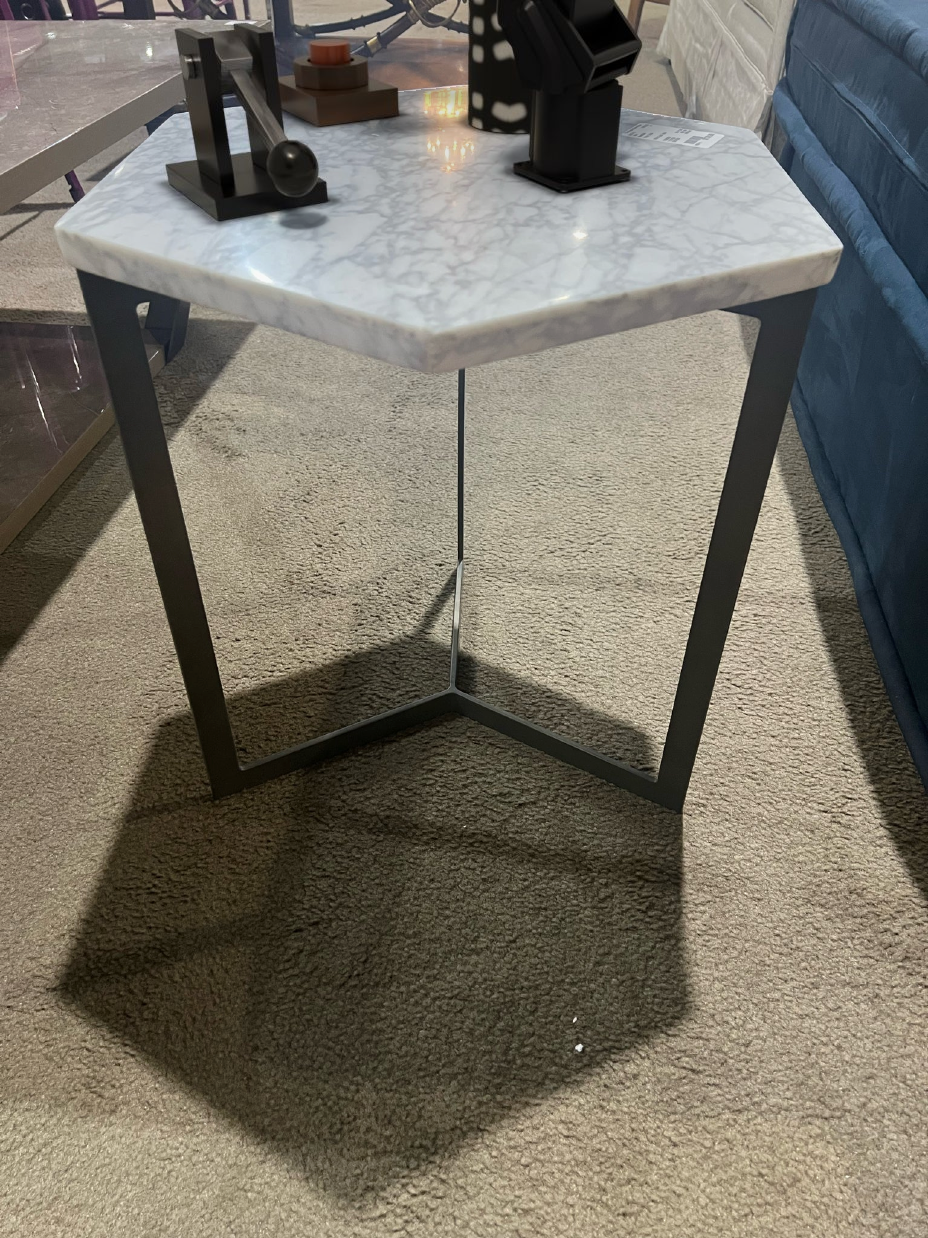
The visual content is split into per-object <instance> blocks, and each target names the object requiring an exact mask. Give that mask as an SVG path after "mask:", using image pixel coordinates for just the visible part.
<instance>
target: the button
mask: <svg viewBox="0 0 928 1238" xmlns="http://www.w3.org/2000/svg"><path fill="white" fill-rule="evenodd" d="M308 52H309V53H308V54H309V55H310V63H315V64H342V63H349V62H351V55H350V54H351V42H350V41H349V40H346V39H341V38H322V39H321V38H319V39H314V40H311V41H309V42H308Z"/></svg>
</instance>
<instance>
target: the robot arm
mask: <svg viewBox="0 0 928 1238" xmlns="http://www.w3.org/2000/svg"><path fill="white" fill-rule="evenodd" d="M496 13H497V21H498V25H499V26H500V27H501V28H502V31H503V33H504V36H505V38H506V40H507V42H508V43H509V44H510V46H511V47H512V51H513V55H514V59H515V63H516V67H517V71H518V75H519V79H520V84H521V87H522V88H524V89H532V90H533V98H532V100H531V116H530V133H529V139H528V143H529V144H528V158H529V160H528V159H527V160H523V161H517V162H514V163H513V164H512V171H513V172H516V173H518V174H521V175H523V176H525V177H528V178H530V179H532V180H535V181H537V182H539V183H542V184H544V185H545V186H549V187H551V188H553V189H556V190H559V191H570V190H576V189H581V188H585V187H586V188H587V187H591V186H597V185H603V184H607V183H610V182H616V181H622V180H626V179H627V180H628V179H630V178H631V177H632V170H631V169H629V168H627V167H624V166H620V165H617V154H618V146H619V145H618V144H619V135H620V127H621V126H620V124H621V117H622V116H621V115H622V106H623V105H622V104H623V94H624V85H622V84H620V82H619V80H618V78H620V77H623V76H628V75H630V74H631V73H632V72H633V71H634V70H633V69H634V68H635V65H636V63H637V61H638V58H639V55H640V53H641V50H642V48H643V41H642V39H641V37H640V36H639V35H638V34H637V32H636V31H635V29H634V28H633V26H632V25H631V23H630V22H629V20H628V18H627V17H626V15H625V13H624V12H623V11H622V10H621V8H620V6H619V4H618V3H617V1H616V0H497V9H496Z"/></svg>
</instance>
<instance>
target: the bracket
mask: <svg viewBox="0 0 928 1238" xmlns="http://www.w3.org/2000/svg"><path fill="white" fill-rule="evenodd" d="M233 30H236V31H237V33H238V34H239V36H240V37H241V39H242V41H243V42H244V44H245V45H246V47H247V49H248V50H249V52H250V53H251V55H252V57H253V70H252V81H253V83H254V85H255V86H256V88H257V90H258V91H259V93H260V94H261V96H262V98H263V99H264V101H265V102H266V104H267V106H268V107H269V109H270V111H271V112H272V114H273V115H274V117H275V119H276V120H277V122H278V124H279V125H280V127H281V128H282V130H283V132H284V133H285V126H284V125H285V124H284V116H283V109H282V107H281V98H280V89H279V80H278V77H279V73H278V63H277V55H276V45H275V37H274V32H273V31H271V30H269V29H266V28H262V27H260V26H258V25H254V24H252V23H249V22H238V23H233ZM174 34H175V35H174V36H175V40H176V41H175V42H176V46H177V53H178V58H179V67H180V70H181V75H182V80H183V86H184V87H183V88H184V92H185V98H186V99H185V100H186V104H187V110H188V115H189V122H190V127H191V133H192V138H193V139H192V140H193V144H194V151H195V156H196V159H192V160H185V161H178V162H172V163H166V164H165V170H166V171H165V172H166V175H167V181H168V184H169V185H171V187H173V188H175V189H176V190H177V191H179V192H180V193H181V194H182V195H184V196H185V197H186V198H188V199H189V200H190V201H192V202H193V203H194V204H195V205H197V206H198V207H200V208H201V209H203V210H204V211H205V212H206V213H208V214H209V215H210V216H211V217H213V218H214V219H215V220H217V221H218V222H219V221H226V220H230V219H236V218H241V217H247V216H253V215H259V214H264V213H265V214H266V213H269V212H275V211H281V210H287V209H292V208H293V209H294V208H298V207H304V206H308V205H315V204H320V203H326V202H329V195H328V185H327V184H328V183H327V181H326V180H324V179H323V178H321V177H319V176H318V180H317V182H316V184H315V186H314V187H313V189H312V190H311V191H310V192H308V193H307V194H305V195H303V196H299V197H290V196H287V195H284V194H282V193H281V192H279V191H278V190H277V189H276V188H275V187H274V186H273V185H272V183H271V181H270V179H269V177H268V173H267V159H268V156H269V154H270V152H269V150H268V149H267V147H266V145H265V144H264V142H263V140H262V139H261V137H260V135H259V134H258V132H257V131H256V129H255V127H254V126H253V124H252V122H251V121H250V119H249V117H248V116H247V114H246V112H245V111H244V113H245V119H246V127H247V134H248V141H249V149H250V151H246V152H240V153H239V152H238V153H232V154H231V148H230V140H229V134H228V128H227V120H226V114H225V107H224V102H223V101H224V100H223V95H222V93H221V86H220V80H219V73H218V66H217V60H216V53H215V46H214V40H213V37H210V36H208V35H205V34H204V32H203V33H202V32H201V31H199V30H195V29H193V28H191V27H182V28H174Z"/></svg>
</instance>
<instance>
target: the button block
mask: <svg viewBox="0 0 928 1238" xmlns="http://www.w3.org/2000/svg"><path fill="white" fill-rule="evenodd" d="M350 55H351V62H349V63H342V64H315V63H310V54H305V55H302V56H298V57H295V58H294V59H293V62H292V65H293V74H292V75H291V74H290V75H282V76H278V80H279V89H280V98H281V107H282V111H285V112H288V113H289V114H291V115H294V116H295V117H297V118H299V119H302V120H304V121H306V122H308V123H310V124H312V125H314V126H316V127H326V126H334V125H340V124H347V123H354V122H361V121H362V122H363V121H369V120H375V119H383V118H389V117H396V116H400V106H399V104H400V103H399V88H398V87H397V86H395V85H392V84H388V83H386V82H383V81H380V80H377V79H375V78H374V77H373V78H372V77H370V76H369V61H368V60H369V59H368V57H365V56H363V55H360V54H357V53H350Z"/></svg>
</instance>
